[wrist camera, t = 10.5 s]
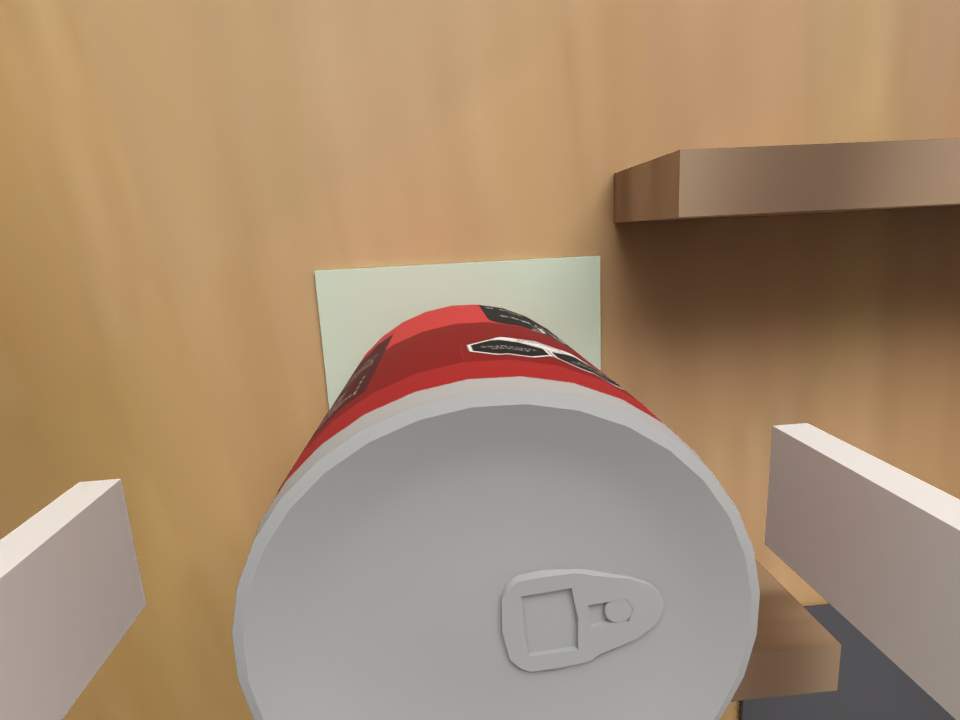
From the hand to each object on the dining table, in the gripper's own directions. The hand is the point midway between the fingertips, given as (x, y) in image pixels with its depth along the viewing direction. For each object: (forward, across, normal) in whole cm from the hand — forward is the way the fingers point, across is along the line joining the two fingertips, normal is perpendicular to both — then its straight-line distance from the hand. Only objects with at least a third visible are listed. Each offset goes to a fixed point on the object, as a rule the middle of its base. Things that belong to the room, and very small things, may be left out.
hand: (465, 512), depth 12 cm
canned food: (+8, +1, 0) cm, 8 cm away
